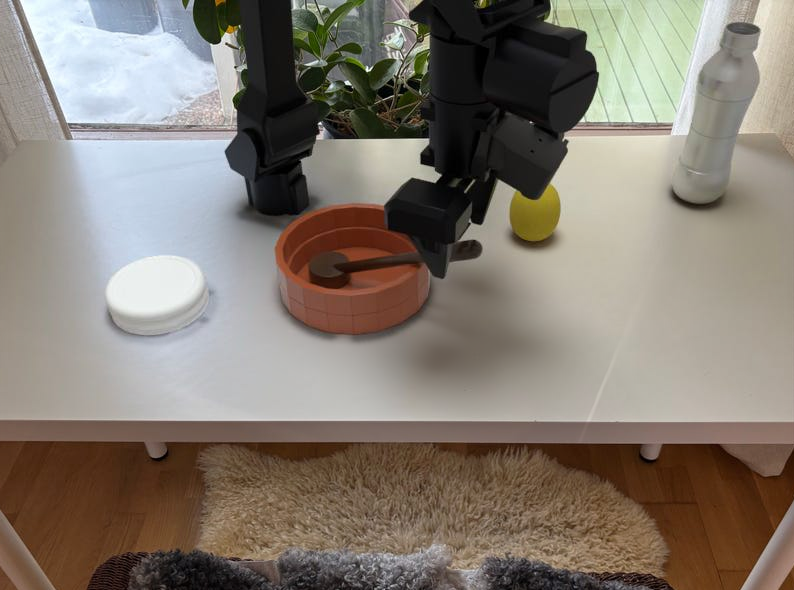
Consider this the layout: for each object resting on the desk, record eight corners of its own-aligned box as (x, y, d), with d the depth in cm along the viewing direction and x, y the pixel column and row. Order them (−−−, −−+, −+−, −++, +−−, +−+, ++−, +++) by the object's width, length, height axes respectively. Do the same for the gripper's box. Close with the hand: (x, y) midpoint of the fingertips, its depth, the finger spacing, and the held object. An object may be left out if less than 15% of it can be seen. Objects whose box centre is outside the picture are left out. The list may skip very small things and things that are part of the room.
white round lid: (211, 273, 85) (204, 247, 82) (210, 333, 78) (204, 307, 75) (117, 285, 84) (108, 258, 81) (108, 347, 77) (98, 320, 74)
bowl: (253, 314, 80) (244, 269, 76) (328, 234, 90) (323, 190, 86) (389, 358, 75) (387, 312, 71) (452, 267, 85) (454, 223, 81)
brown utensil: (302, 283, 82) (292, 206, 75) (322, 260, 85) (315, 184, 78) (468, 335, 76) (473, 256, 69) (484, 308, 79) (491, 231, 72)
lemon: (554, 258, 86) (563, 195, 80) (504, 253, 86) (510, 190, 81) (557, 229, 89) (566, 168, 84) (509, 225, 90) (515, 163, 85)
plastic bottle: (729, 190, 95) (783, 23, 81) (713, 217, 91) (766, 46, 77) (677, 175, 97) (720, 11, 83) (659, 201, 93) (701, 33, 79)
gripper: (522, 165, 53) (505, 334, 64) (596, 59, 65) (572, 217, 76) (377, 133, 56) (384, 299, 67) (472, 39, 68) (466, 192, 79)
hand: (459, 249), depth 72 cm, fingers open, 9 cm apart
